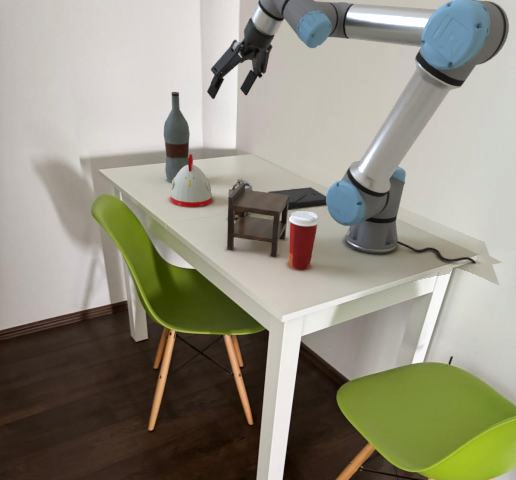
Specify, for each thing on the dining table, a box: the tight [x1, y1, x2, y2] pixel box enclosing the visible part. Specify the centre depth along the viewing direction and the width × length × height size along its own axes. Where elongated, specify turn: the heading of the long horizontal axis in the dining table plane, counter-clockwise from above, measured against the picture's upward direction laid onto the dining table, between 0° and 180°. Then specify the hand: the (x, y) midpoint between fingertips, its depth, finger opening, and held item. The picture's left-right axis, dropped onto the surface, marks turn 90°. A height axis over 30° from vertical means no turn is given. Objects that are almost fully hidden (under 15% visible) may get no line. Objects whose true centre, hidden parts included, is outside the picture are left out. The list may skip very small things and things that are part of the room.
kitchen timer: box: [170, 153, 213, 208], centre depth 170 cm, size 14×14×15 cm
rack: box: [226, 182, 289, 258], centre depth 142 cm, size 14×14×15 cm
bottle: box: [163, 91, 190, 184], centre depth 183 cm, size 9×9×30 cm
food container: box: [227, 178, 253, 221], centre depth 161 cm, size 12×6×10 cm, turn 168°
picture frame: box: [267, 186, 327, 210], centre depth 179 cm, size 13×2×18 cm
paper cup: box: [288, 210, 320, 271], centre depth 132 cm, size 8×8×14 cm
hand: (227, 93), depth 147 cm, fingers open, 13 cm apart
